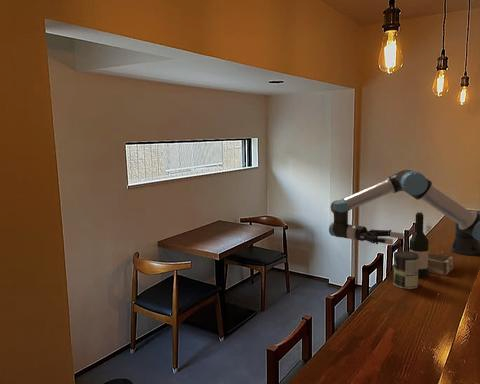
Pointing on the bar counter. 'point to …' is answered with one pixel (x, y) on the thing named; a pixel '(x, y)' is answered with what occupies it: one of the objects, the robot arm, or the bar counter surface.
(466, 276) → the bar counter surface
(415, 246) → the wine bottle
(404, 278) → the coffee can
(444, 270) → the u rest
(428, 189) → the robot arm
